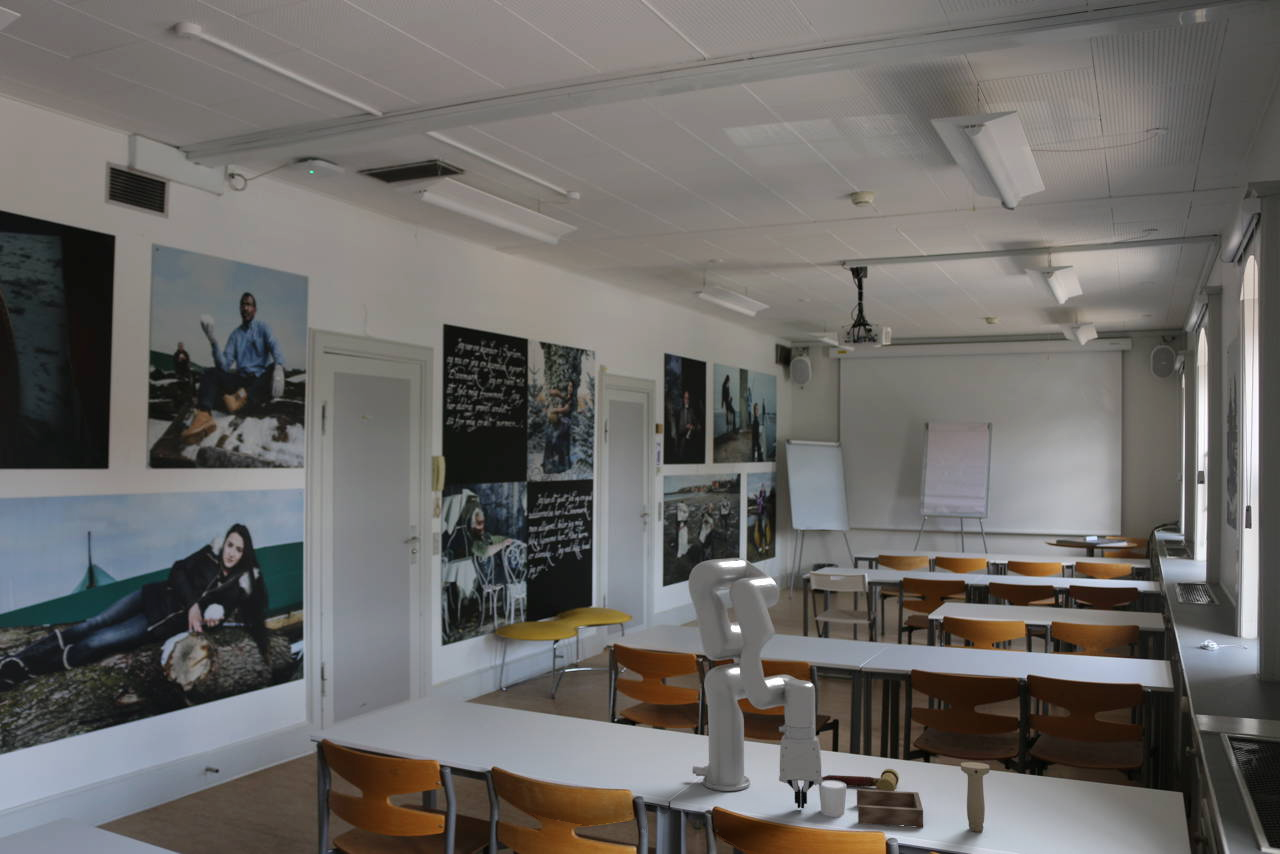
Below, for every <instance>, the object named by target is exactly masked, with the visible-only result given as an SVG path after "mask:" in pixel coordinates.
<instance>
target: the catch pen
mask: <svg viewBox="0 0 1280 854" xmlns="http://www.w3.org/2000/svg"><path fill="white" fill-rule="evenodd" d="M921 801H922V800H921V797H920V794H919V792H917V791H904V790H902V791H901V790H894V791H885V790H877V789H866V788H865V789H863V788H856V807H857V823H858V824H861V825H878V826H890V825H904V826H903V827H906V826H917V827H916V828H922V827H923V828H924V809H923V806H922V805H923V804H922V802H921Z"/></svg>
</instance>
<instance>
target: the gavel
mask: <svg viewBox="0 0 1280 854" xmlns="http://www.w3.org/2000/svg"><path fill="white" fill-rule="evenodd" d="M899 776H900V775H899V774H898V772H897V771H896V770H895V769H893V768H885V769H884V770H883V771H882V772H881V775H880V777H872V776H862V775H861V776H857V775H839V774H838V775H834V774H833V775H832V774H828V775H824V776H822V780H823V781H824V780H836V781H841V782H844V783H845V784H846V786H847V787H865V788H871V787H876V788H875V790H885V791H896V786H897V785H898V783H899V780H900V777H899Z"/></svg>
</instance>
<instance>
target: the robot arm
mask: <svg viewBox="0 0 1280 854" xmlns="http://www.w3.org/2000/svg"><path fill="white" fill-rule="evenodd" d="M690 571H691V572H690V574H689V576H688V577H689V578H688V590H689V595H690V599H691V602H692V604H693V606H694V607H693V608H694V610H695V614H696V620H697V624H698V630H699V634H700V635H699V636H700V639H701V645H702V648H703V652H704V654H705V656H706V658H708V659H709V660H711V661H724V660H730V659H732V660H733V662H734V663H727V664H721V665H718V666H715V667H712V668H711V669H710V670H709V671H707V673H706V675H705V678H704V682H703V683H704V685H703V687H704V691H705V696H706V697H705V698H706V702H707V703H706V705H707V713H708V714H707V715H708V716H707V717H708V718H707V719H708V721H707V722H708V724H707V725H708V764H707V765H704V766H694V765H693V766H692V774H693V775H695V776H696V777H703V779H702V784H703V785H704V786H705V787H706V788H708V789H711V790H713V791H714V790H715V791H719V792H720V791H721V792H735V791H741V790H745V789H747V788H749V787H750V785H751V779H750V778H749V777H747V776H746V775H745V725H744V724H745V721H744V714H743V711H742V709H741V707H740V706H739V705H740V704H739V703H738V700H742V699H746V698H747V699H748V701H749V703H750V705H752V706H753V707H754V708H756V709H758V710H768V709H771V708H776V707H782V706H784V724H783V725H780V726H778V731H779V733H780V732H781V733H783V735H782V737H781V740H780V749H779V751H780V752H779V777H778V780H779V782H781V783H784V784H788V786H789V787H790V788H791V789H792V790H793V791H794V804H797V805H796V806H797V809H800V808H801V809H805V805H807V804H808V791H809V790H810V789H811V788H812V787H813V786H814V785H815V786H816V785H819V784H822V782H823V780H822V777H823V776H822V753H821V746H820V739H819V738H818V736H816V688H815V687H816V686H815V685H814V683H812V682H811V681H808V680H803V679H802V680H801V679H797V678H796V677H794V676H792V675H789V674H777V675H772V676H771V675H770V676H767V677H765V674H764V670H763V669H764V668H763V664H762V657H761V654H762V651H763V649H764V647H765V646H766V645H767V643H768V642H769V641H771V640H772V639H773V637H774V636H775V635H776V631H775V627H774V624H773V622H772V619H771V616H770V613H769V611H768V610H769V609H768V608H772V607H774V606H775V605H777V603H778V602H779V599H780V589H779V586H778V584H777V583H776V581H775V580H774V579H773V578H772V577H771V576H770V575H769V574H768V573H767V572H765V571H763V570H762V569H760V568H759V567H758V566H756V565H755V564H753V563H751V562H750V561H748V560H747V559H745V558H743V557H742V558H741V557H730V558H729V557H728V558H717V559H716V558H715V559H709V560H704V561H701V562H699V563H697V564H696V565H695V566H693V568H692V569H691V570H690ZM726 590H727V591H728V590H729V593H728V595H729V600H730V603H731V606H732V608H733V611H734V615H735V619H736V622H735V621H734V622H731V621H730V618H729V614H728V609H727V606H726V603H725V602H724V600H723V599H722V598H721V596H720V595H719V594H718V591H726ZM799 781H802V782H803V785H802V786H801V788H800V785H799Z"/></svg>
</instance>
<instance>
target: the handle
mask: <svg viewBox="0 0 1280 854" xmlns="http://www.w3.org/2000/svg"><path fill="white" fill-rule="evenodd" d="M990 769H991V768H990V765H989V764H987V763H984V762H983V763H982V762H975V761H972V762H971V761H969V762H968V761H965V762H964V761H963V762H961V763H960V770H961V771H962V772H963V773H964V774H966V776H967V792H966V815H967V821H968V828H969V830H970V831H971V832H972V831H973V832H976V833H978V832H983V831H984V827H985V826H984V823H985V812H986V811H985V809H986V808H985V805H986V804H985V794H984V793H985V792H984V776H985V775H988V774H989V773H990V771H991V770H990Z"/></svg>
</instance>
